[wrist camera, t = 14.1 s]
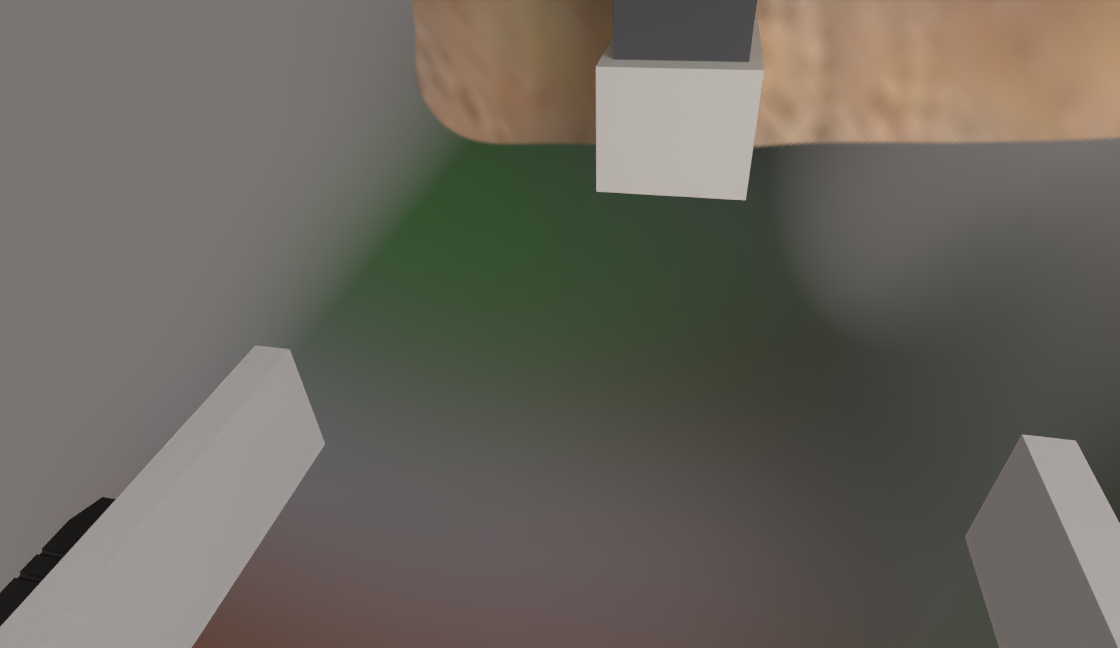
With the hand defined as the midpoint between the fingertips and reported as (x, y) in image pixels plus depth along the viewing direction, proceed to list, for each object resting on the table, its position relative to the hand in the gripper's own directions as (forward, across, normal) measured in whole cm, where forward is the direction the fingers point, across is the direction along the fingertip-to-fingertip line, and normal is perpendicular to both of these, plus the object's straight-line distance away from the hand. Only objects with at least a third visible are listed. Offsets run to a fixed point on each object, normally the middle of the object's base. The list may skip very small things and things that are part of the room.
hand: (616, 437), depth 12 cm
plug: (+24, 0, +2) cm, 24 cm away
